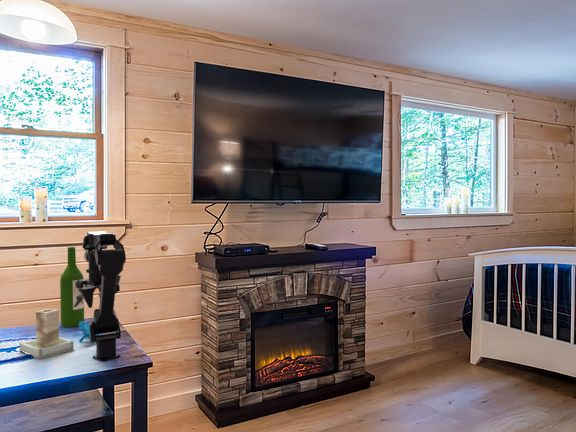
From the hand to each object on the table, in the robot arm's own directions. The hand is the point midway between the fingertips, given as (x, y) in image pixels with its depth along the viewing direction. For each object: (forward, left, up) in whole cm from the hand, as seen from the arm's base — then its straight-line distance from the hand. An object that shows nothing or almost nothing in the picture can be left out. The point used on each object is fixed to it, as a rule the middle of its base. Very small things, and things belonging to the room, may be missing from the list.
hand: (97, 309), depth 170 cm
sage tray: (+9, +14, -13) cm, 21 cm away
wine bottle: (+34, -10, -13) cm, 38 cm away
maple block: (+9, +14, -12) cm, 20 cm away
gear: (+7, -1, -13) cm, 15 cm away
